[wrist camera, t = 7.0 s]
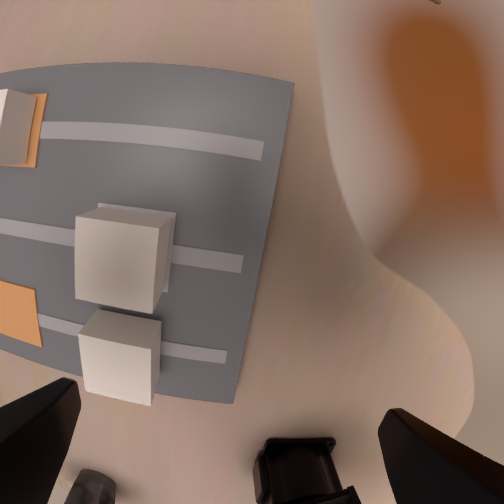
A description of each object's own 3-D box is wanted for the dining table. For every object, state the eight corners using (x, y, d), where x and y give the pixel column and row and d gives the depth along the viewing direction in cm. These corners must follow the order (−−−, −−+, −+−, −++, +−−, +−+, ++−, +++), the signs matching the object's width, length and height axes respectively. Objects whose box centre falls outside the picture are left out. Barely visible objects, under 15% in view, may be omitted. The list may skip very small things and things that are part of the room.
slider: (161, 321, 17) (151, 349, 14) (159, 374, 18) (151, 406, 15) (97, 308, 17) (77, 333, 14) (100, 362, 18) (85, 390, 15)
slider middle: (171, 216, 16) (159, 228, 13) (163, 289, 17) (152, 313, 14) (100, 206, 15) (75, 216, 12) (97, 277, 16) (75, 298, 13)
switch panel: (287, 91, 16) (295, 82, 14) (232, 386, 21) (233, 406, 19) (4, 80, 14) (-13, 75, 12) (1, 332, 19) (-13, 345, 17)
